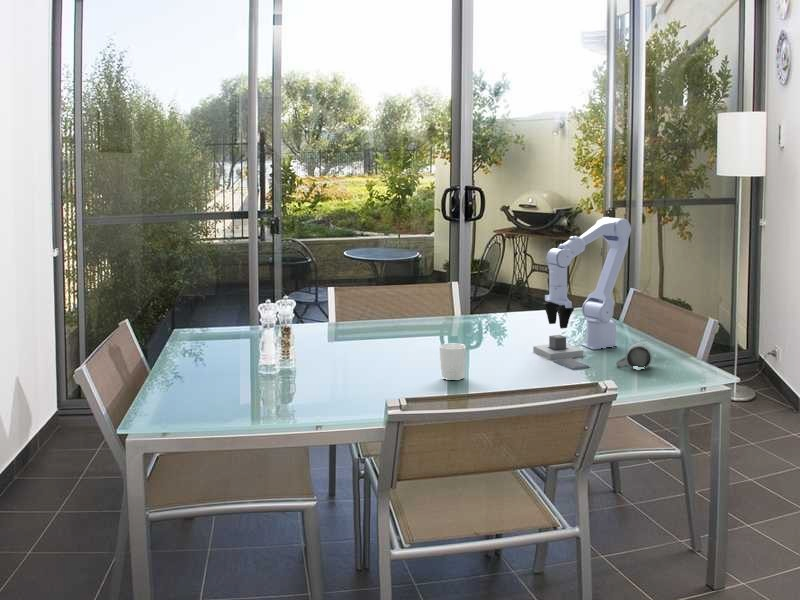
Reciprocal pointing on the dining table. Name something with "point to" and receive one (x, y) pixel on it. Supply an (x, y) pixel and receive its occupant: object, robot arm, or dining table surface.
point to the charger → (557, 342)
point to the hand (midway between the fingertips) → (557, 325)
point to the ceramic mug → (636, 356)
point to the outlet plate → (558, 352)
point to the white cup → (453, 360)
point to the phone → (571, 363)
